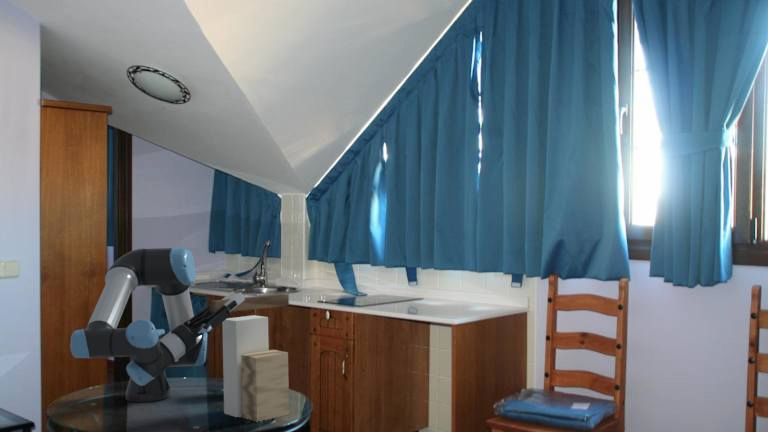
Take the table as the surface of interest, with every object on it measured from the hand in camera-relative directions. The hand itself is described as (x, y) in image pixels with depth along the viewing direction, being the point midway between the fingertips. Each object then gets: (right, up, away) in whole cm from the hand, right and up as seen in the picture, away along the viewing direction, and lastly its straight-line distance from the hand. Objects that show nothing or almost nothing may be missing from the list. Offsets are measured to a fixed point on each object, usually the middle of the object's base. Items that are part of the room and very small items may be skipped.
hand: (238, 295), depth 221 cm
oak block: (+7, -38, +6) cm, 39 cm away
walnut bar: (+3, -4, +3) cm, 6 cm away
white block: (0, -39, +12) cm, 40 cm away
